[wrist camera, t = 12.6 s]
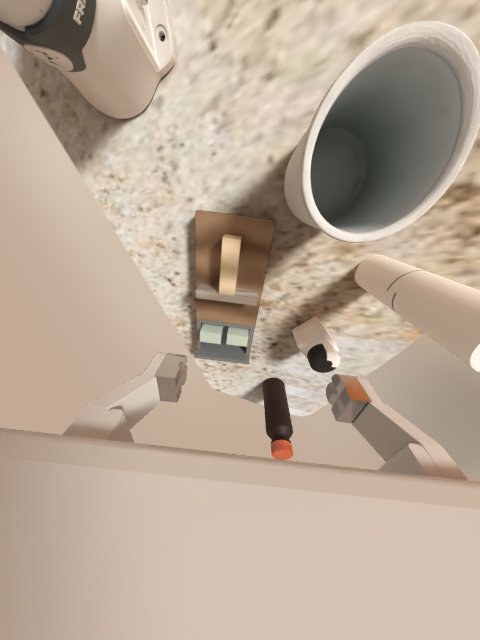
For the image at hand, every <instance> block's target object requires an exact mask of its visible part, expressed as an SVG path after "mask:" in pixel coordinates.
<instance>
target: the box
mask: <svg viewBox="0 0 480 640" xmlns="http://www.w3.org/2000/svg"><path fill="white" fill-rule="evenodd" d="M203 323H206V324H214V325H222V326H224V328H223V335H222V339H221V344H215V343H207V342H200V330H201V328H202V325H203ZM229 326H230V327H237V328H245V329H249V337H248V343H247V347H245V346H236V345H228V344H226V343H227V333H228V328H229ZM254 329H255V326H248V325H241V324H233V323H225V322H217V321H209V320H201V319H197V349H196V352H195V354H194V358H202V359H210V360H218V361H226V362H234V363H242V364H249V354H250V349H251V344H252V339H253V334H254Z"/></svg>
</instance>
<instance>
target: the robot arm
mask: <svg viewBox="0 0 480 640" xmlns="http://www.w3.org/2000/svg"><path fill="white" fill-rule="evenodd" d="M0 30H1V31H3V32H4V33H5V34H7V35H8V36H9V37H11V38H12V39H13V40H15V41H16V42H18V43H19V44H21V45H22V46H23V47H24V48H25V49H26V50H28V51H29V52H30V53H32V54H33V55H35V56H36V57H38V58H39V59H41V60H43V61H44V62H46V63H48V64H50V65H51V66H54V67H56V68H57V69H58V70H59V71H60V72H61V73H62V74H63V75H65V76H66V77H67V78H68V79H69V80H70V81H71V83H72V84H73V85H74V86H75V87H76V88H77V89H78V91H79V92H80V93H81V94H82V96H83V97H84V98H85V99H86V100H87V101H88V102H89V103H90V104H91V105H92V106H94V107H95V108H96V109H97V110H99V111H100V112H102V113H104V114H106V115H108V116H110V117H114V118H119V119H127V118H131V117H134V116H136V115H138V114H139V113H141V112H142V111H143V110H144V109H145V108H146V107H147V106H148V104H149V103H150V101H151V99H152V97H153V95H154V92H155V90H156V87H157V85H158V83H159V81H160V79H161V78H162V77H163V76H164V75H165V74H166V73H168V72H169V70H170V69H171V68H172V67H173V65H174V63H175V59H176V54H175V46H174V40H173V34H172V28H171V21H170V15H169V9H168V3H167V0H0ZM162 35H165V40H164V41H163V42H162V41H161V37H162ZM186 362H187V356H184V355H177V354H171V353H162V352H158V353H157V354H155V356H154V357H153V359H152V360H151V362H150V364H149V365H148V367H147V368H146V370H145V371H144V373H143V374H142V375H138V376H136V377H134V378H133V379H131V380H129V381H128V382H126V383H124V384H122V385H121V386H119V387H117V388H115V389H114V390H112V391H110V392H109V393H107V394H105V395H103V396H101V397H100V398H98V399H96V400H95V401H93V402H91V403H89V404H88V405H87V406H86V407H85V408H84V409H83V411H82V412H81V413H80V414H79V416H78V417H77V418H76V419H75V420H74V421H73V423H72V424H71V425H70V426H69V427H68V429H67V430H66V431H65V432H64V433H63V435H58V434H49V433H40V432H32V431H23V430H14V429H5V428H0V640H480V482H476V481H469V480H468V479H467V477H466V476H465V475H464V474H463V472H462V471H461V470H460V469H459V467H458V466H457V465H456V464H455V462H454V461H453V460H452V459H451V457H450V456H449V455H448V454H447V452H446V451H445V450H444V449H443V447H442V446H441V445H439V444H438V443H437V442H435V441H434V440H433V439H431V438H430V437H429V436H427V435H426V434H425V433H423V432H422V431H421V430H419V429H418V428H417V427H415V426H414V425H413V424H411V423H410V422H408V421H407V420H406V419H405V418H403V417H402V416H401V415H399V414H398V413H397V412H395V411H394V410H392V409H391V408H390V407H389V406H387V405H386V404H382V402H381V400H380V399H379V398H378V396H377V395H376V393H375V392H374V390H373V389H372V387H371V386H370V384H369V383H368V381H367V380H366V379H365V378H364V377H358V376H349V375H340V374H335V375H333V377H332V378H331V379H332V381H333V382H331V383H329V384H328V386H327V388H326V396H327V399H328V402H329V403H331V404H332V405H333V406H332V412H333V414H334V417H335V419H336V421H339V422H346V423H353V424H352V425H353V426H354V427H355V428H356V429H357V430H358V431H359V432H360V434H361V435H362V436H363V437H364V438H365V439H366V440H367V441H368V442H369V443H370V445H371V446H372V447H373V448H374V449H375V450H376V451H377V453H379V455H380V456H381V457H382V458H383V459H384V460H385V461H386V462H385V464H383V465H382V466H381V467H380V469H379V471H378V470H369V469H360V468H351V467H342V466H334V465H325V464H315V463H307V462H299V461H290V460H281V459H271V458H263V457H254V456H245V455H236V454H227V453H219V452H209V451H200V450H192V449H182V448H174V447H165V446H156V445H147V444H138V443H134V441H133V438H132V435H131V432H130V429H131V428H132V427H133V426H134V425H135V424H136V423H138V422H139V421H140V420H141V419H142V418H143V417H144V416H145V415H147V414H148V413H149V412H150V411H151V410H152V409H153V408H154V407H155V406H157V405H158V404H159V403H160V402H161V401H167V402H178V399H179V397H180V394H181V386H182V385H184V383H185V381H186V376H187V366H186Z"/></svg>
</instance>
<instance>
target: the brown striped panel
mask: <svg viewBox="0 0 480 640" xmlns="http://www.w3.org/2000/svg"><path fill="white" fill-rule="evenodd" d="M275 223H276V222H275V221H274V220H267V219H260V218H253V217H246V216H239V215H231V214H224V213H217V212H210V211H203V210H196V211H195V231H196V289H197V288H198V286H199V285H200V283H202V284H209V285H217V286H219V285H220V269H221V253H222V237H223V236H224V235H225V234H227V235H234V236H242V239H241V248H240V256H239V265H238V274H237V283H236V288H240V289H248V290H255V291H257V296H258V300H257V305H256V306H255V305H247V304H239V303H231V302H224V301H216V300H208V299H200V298H196V319H201V320H209V321H217V322H225V323H233V324H241V325H248V326H255V325H256V320H257V315H258V310H259V305H260V299H261V294H262V289H263V284H264V279H265V274H266V269H267V264H268V259H269V254H270V249H271V244H272V239H273V234H274V228H275Z"/></svg>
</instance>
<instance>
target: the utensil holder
mask: <svg viewBox="0 0 480 640" xmlns="http://www.w3.org/2000/svg"><path fill="white" fill-rule="evenodd" d="M479 125H480V56H479V53H478V51H477V49H476V47H475V46H474V44H473V42H472V41H471V40H470V39H469V38H468V37H467V36H466V35H465V34H464V33H463V32H462V31H461V30H459V29H458V28H456V27H455V26H452V25H449V24H446V23H444V22H438V21H419V22H414V23H410V24H406V25H403V26H400V27H398V28H396V29H394V30H392V31H390V32H388V33H386V34H384V35H383V36H381V37H380V38H378V39H377V40H375V41H374V42H372V43H371V44H370V45H368V46H367V47H366V48H365V49H363V50H362V51H361V52H360V53H359V54H358V55H357V56H356V57H355V58H354V59H353V60H352V61H351V62H350V63H349V64H348V65H347V67H346V68H345V69H344V70H343V71H342V72H341V74H340V75H339V76H338V77H337V79H336V80H335V81H334V83H333V84H332V86H331V87H330V88H329V90H328V91H327V93H326V95H325V96H324V98H323V100H322V101H321V103H320V105H319V107H318V109H317V111H316V113H315V115H314V117H313V119H312V121H311V124H310V126H309V128H308V129H307V131H306V132H305V134H304V135H303V137H302V139H301V140H300V142H299V144H298V146H297V147H296V149H295V151H294V152H293V154H292V156H291V158H290V161H289V163H288V166H287V169H286V173H285V178H284V194H285V199H286V203H287V205H288V207H289V209H290V211H291V212H292V214H293V215H294V216H295V217H296V218H297V219H299V220H300V221H302V222H304V223H305V224H307V225H309V226H312V227H314V228H317V229H319V230H321V231H322V232H324V233H325V234H327V235H328V236H330V237H332V238H334V239H337V240H340V241H344V242H351V243H363V242H370V241H374V240H378V239H382V238H385V237H387V236H390V235H392V234H394V233H396V232H398V231H400V230H402V229H403V228H405V227H407V226H408V225H410V224H411V223H413V222H414V221H415V220H417V219H418V218H419V217H420V216H422V215H423V214H424V213H425V212H426V211H427V210H429V209H430V208H431V207H432V206H433V205H434V204H435V203H436V201H437V200H438V199H439V198H440V197H441V196H442V195H443V194H444V192H445V191H446V190H447V189H448V187H449V186H450V185H451V183H452V182H453V180H454V179H455V178H456V176H457V174H458V173H459V171H460V170H461V168H462V166H463V164H464V163H465V161H466V159H467V157H468V155H469V153H470V150H471V148H472V146H473V143H474V141H475V138H476V135H477V132H478V129H479Z"/></svg>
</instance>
